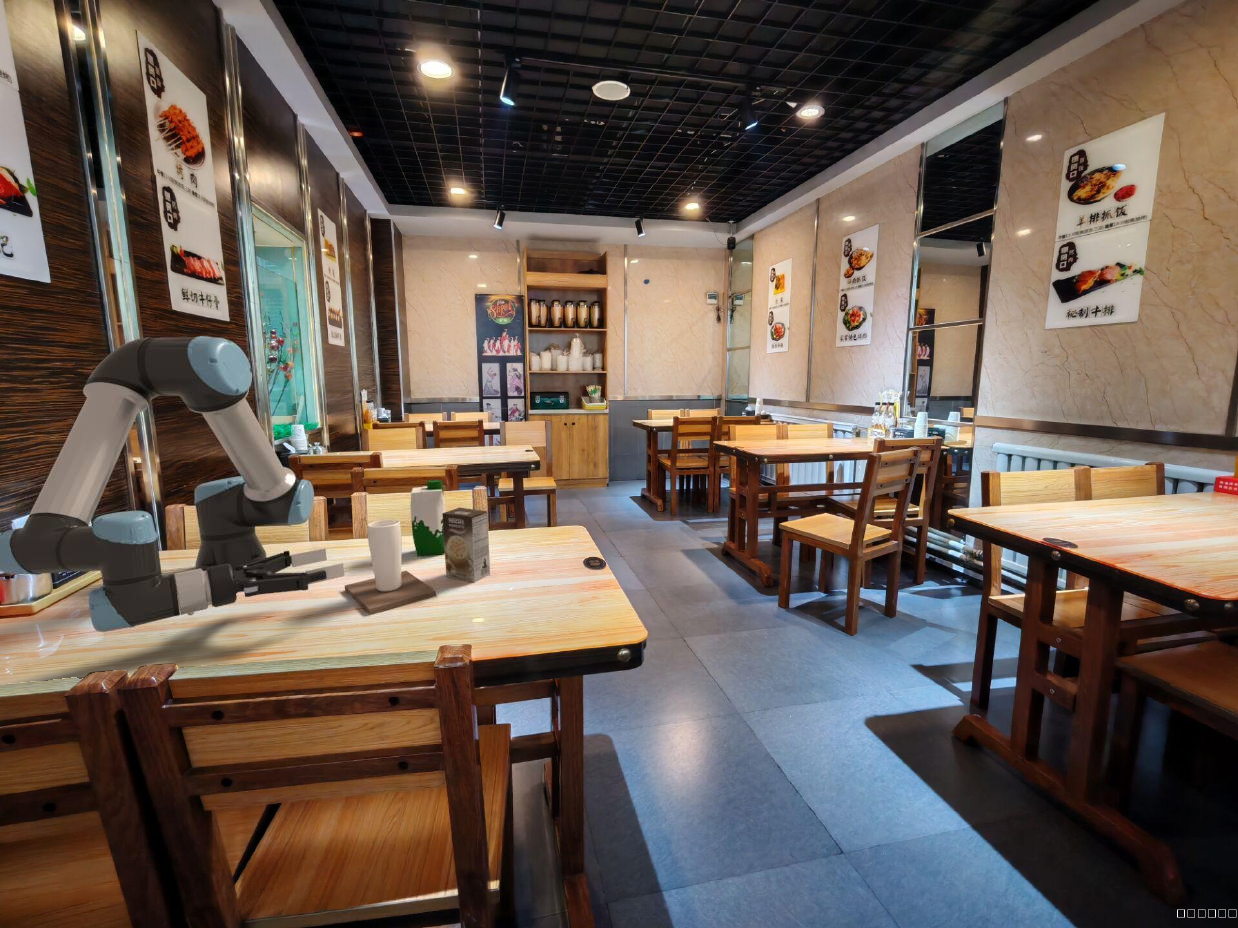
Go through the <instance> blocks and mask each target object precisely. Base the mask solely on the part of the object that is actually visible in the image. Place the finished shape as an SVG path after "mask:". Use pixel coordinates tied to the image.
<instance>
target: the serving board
mask: <svg viewBox="0 0 1238 928" xmlns="http://www.w3.org/2000/svg"><path fill="white" fill-rule="evenodd" d="M401 578H402V585H401V587H400V588H398V589H396V590H393V591H388V592H382V591H378V590H377V588H376V581H375V577H374V578H371V579H370V578H369V579H366V580H361V581H357V582H354V583H349V584H348V583H347V584H345V585H344V591H345V593H347V594H348V595H349V596H350V597H351V598H352V599H353V600H355V602H356V603H357V604H358V605H359V606H361V607H362V609H363V610H365V612H367V614H369V615H373V614H374V615H375V614H378V613H381V612H382V613H383V612H385V611H388V610H392V609H395V608H399V607H403V606H406V605H409V604H413V603H416V602H420V601H424V600H427V599H431V598H435V597H437V590H436V589H434V588H433V587H432V586H430V585H428V584H427V583H425V582H424V581H422V580H421V579H419V578H418V577H417V576H415V575H413V574H412V573H411V572H409V571H408V570H403V571H402V570H401Z"/></svg>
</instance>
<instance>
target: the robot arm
mask: <svg viewBox="0 0 1238 928" xmlns="http://www.w3.org/2000/svg"><path fill="white" fill-rule="evenodd" d="M252 379H253V373H252V372H251V364H250V361H249V359H248V357H247V355H246V354H245V352H244V351H243V350H242V348H241V347H240V346H239V345H237V344H236V343H234V342H233V341H232V340H229V339H226V338H222V337H212V336H208V335H207V336H204V335H201V336H196V337H142V338H141V337H140V338H137V339H134V340H131V341H129V342H126V343H124V344H122V345H120V346H119V347H117V348H116V349H115V350H113V351H112V352H111V353H109V354H108V355H107V356H106V357H105V358H104V359H103V360H102V361H101V362H99V364H98V365H97V366H96V367H95V368H94V370H93V371H92V373H91V374H90V375H89V377H88V379H87V380H86V383H85V384H84V387H83V389H82V393H83V395H84V396H85V398H86V399H85V401H84V404H83V405H82V407H81V410H80V411H79V414H78V415H77V418H76V420H75V422H74V424H73V426H72V428H71V430H70V432H69V434H68V436H67V437H66V440H65V442H64V443H63V446H62V448H61V449H60V452H59V455H58V456H57V458H56V461H55V462H54V464H53V466H52V468H51V470H50V472H49V474H48V477H47V478H46V481H45V482H44V485H43V487H42V488H41V491H40V492H39V495H38V496H37V499H36V500H35V502H34V505H33V506H32V508H31V511H30V513H29V515H28V517H27V519H26V521H25V523H24V524H23V527H18V528H15V529H9V530H7V531H4V532H3V533H2V534H0V571H1V572H3V573H4V574H10V575H35V576H37V575H38V576H39V575H42V574H53V573H54V574H56V573H71V572H72V573H75V572H77V573H78V572H79V573H80V572H100V574H101V581H102V586H99V587H97V588H93V589H92V590H91V589H90V592H89V593H88V605H89V615H90V620H91V623H92V626H93V629H94V630H96V631H98V632H100V633H101V632H102V633H106V632H111V631H116V630H122V629H123V630H124V629H126V628H127V629H128V628H135V627H137V626H141V625H145V624H150V623H153V622H157V621H162V620H165V619H169V618H173V617H178V616H181V615H188V616H193V615H195V612H200V611H203V610H207V609H208V608H209V606H210V605H211V607H214V608H217V607H223V606H226V605H231V604H235V603H236V601H237V597H238V596H237V594H238V593H242V592H243V593H244V597H245V598H249V597H253V596H254V597H255V596H259V595H269V594H276V593H277V594H278V593H287V592H289V593H290V592H297V591H308V590H309V585H312V584H316V583H321V582H325V581H328V580H329V581H331V580H333V579H338V578H343V577H345V569H344V568H345V567H344V563H343V562H338V563H333V564H328V565H324V566H319V567H314V568H311V569H310V568H309V569H305V572H304V571H303V572H280V571H282V570H285V569H287V568H289V567H292V568H297V567H302V566H306V565H310V564H316V563H321V562H325V561H327V550H326V548H325V547H321V548H315V549H311V550H310V549H309V550H305V551H301V552H300V551H299V552H295V553H291V554H290V550H284V551H283V552H280V553H277V554H274V555H271V556H267V552H266V550H265V548H264V546H263V545H262V543H261V541H260V539H259V537H258V534H257V533H256V532H257V531H256V527H291V526H296V525H302V524H305V523H306V522H307V521H308V520H309V519H310V517H311V515H312V512H313V510H314V509H313V508H314V502H315V493H314V487H313V484H312V482H311V481H310V480H307V479H300V480H299V479H298V478H297V476H296V474H295V472H294V471H293V470H292V469H290V468H289V467H285V466H283V465H282V463H281V461H280V459H279V457H278V455H277V453H276V452H275V450H274V448H273V447H272V444H271V443H270V441H269V439H268V437H267V436H266V433H265V432H264V430H263V428H262V426H261V424H260V423H259V421H258V419H257V417H256V415H255V413H254V412H253V410H252V408H251V406H250V404H249V402H248V401H247V399H246V398H247V396H248V394H249V391H250V390H249V389H250V387H251V385H252ZM159 396H163V397H164V396H166V397H167V396H168V397H169V396H179V397H180V398H181V400H182V401H183V402H184V404H185V405H186V407H187V408H188V410H190V411H192V412H194V413H198V414H201V415H202V416H203V418H204V419H205V421H206V423H207V424H208V426H209V427H210V429H211V430H212V432H213V434H214V435H215V437H216V438H217V440H218V441H219V443H220V445H221V446H222V448H223V450H224V451H225V452H226V454H227V455H228V457H229V459H230V460H231V462H232V463H233V465H234V467H235V468H236V470H237V471H238V473H239V474H240V475H239V476H233V477H227V478H222V479H217V480H213V481H208V482H205V483H200V484H198V485H197V486H196V487H195V489H194V505H195V511H196V518H197V525H198V531H199V537H200V545H199V549H198V553H197V557H196V560H195V569H191V570H185V571H180V572H175V573H171V574H167V575H163V574H162V567H161V559H160V551H159V546H158V545H159V543H158V534H157V531H156V528H155V525H154V520H153V516H152V515H151V514H150V513H149V512H148V511H144V510H128V511H117V512H112V513H107V514H104V515H100V516H97V517H95V518H94V520H93V521H92V519H93V517H94V513H95V512H96V509H97V507H98V504H99V503H100V500H101V498H102V495H103V493H104V491H105V489H106V486H107V484H108V482H109V480H110V477H111V475H112V473H113V470H114V469H115V466H116V464H117V462H118V458H119V457H120V454H121V452H122V450H123V447H124V445H125V443H126V440H127V438H128V436H129V434H130V432H131V430H132V427H133V425H134V422H135V420H136V417H137V416H138V414H139V413H142V412H146V410H147V409H148V407H149V405H150V402H151V401H152V400H153V399H155V398H156V397H159ZM91 521H92V525H90V523H91Z"/></svg>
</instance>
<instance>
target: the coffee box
mask: <svg viewBox="0 0 1238 928" xmlns="http://www.w3.org/2000/svg"><path fill="white" fill-rule="evenodd" d="M442 515H443V531H444V548H445V554H444V559H445V560H444V561H445V563H444V564H445V577H447V578H451V579H456V580H461V581H467V582H473V583H475V582H478V581H480V580H481V579H483V578H485V577H487V576H489V575H491V560H490V559H491V558H490V541H489V521H488V520H489V519H488V518H489V517H488V510H480V509H473V508H468V507H467V508H464V507H457V508H454V509H452V510H448V511H446V512H445V513H442Z"/></svg>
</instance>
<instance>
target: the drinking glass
mask: <svg viewBox="0 0 1238 928" xmlns="http://www.w3.org/2000/svg"><path fill="white" fill-rule="evenodd" d="M366 527H367V541H368V548H369V552H370V554H369V555H370V558H371V563H372V568H373V575H374V578H375V581H376V588H377V590H378V591H382V592H388V591H393V590H396V589H398V588H400V587H401V585H402V578H401V572H402V554H403V552H402V551H403V550H402V549H403V548H402V545H403V543H402V539H403V538H402V529H401V522H400V520H397V519H382V520H380V519H379V520H375V521H373V522H369V523H368V524H367V526H366Z"/></svg>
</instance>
